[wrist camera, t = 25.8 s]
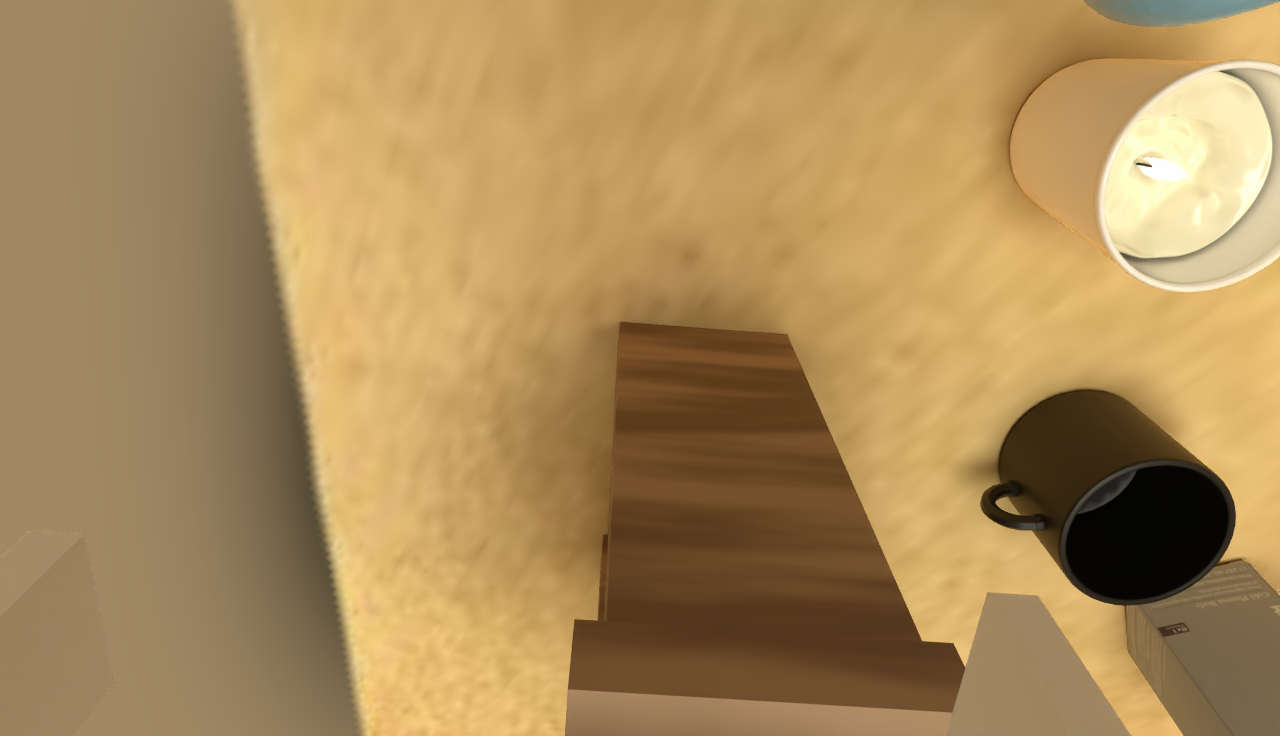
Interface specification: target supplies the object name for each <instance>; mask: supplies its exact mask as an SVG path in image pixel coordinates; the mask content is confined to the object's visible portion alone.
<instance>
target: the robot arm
mask: <svg viewBox="0 0 1280 736" xmlns="http://www.w3.org/2000/svg"><path fill="white" fill-rule="evenodd" d="M1083 1H1084V2H1085V3H1086V4H1087V5H1088V6H1090V7H1091V8H1092V9H1093V10H1095V11H1096V12H1098V13H1099V14H1101V15H1103V16H1105V17H1107V18H1109V19H1111V20H1114V21H1118V22H1121V23H1125V24H1130V25H1136V26H1146V27H1166V26H1180V25H1188V24H1195V23H1201V22H1207V21H1212V20H1217V19H1221V18H1226V17H1230V16H1234V15H1237V14H1241V13H1244V12H1247V11H1251V10H1255V9H1258V8H1262V7H1265V6H1268V5H1271V4H1274V3H1277V2H1279V1H1280V0H1083ZM113 683H114V682H113V676H112V671H111V666H110V661H109V655H108V650H107V646H106V640H105V635H104V630H103V625H102V619H101V614H100V609H99V604H98V599H97V594H96V589H95V584H94V578H93V573H92V568H91V563H90V558H89V552H88V548H87V542H86V537H85V533H74V532H58V531H43V530H29V531H28V532H27V533H26V534H24V535H23V536H22V537H21V538H20V539H19V540H18V541H17V542H15V543H14V544H13V545H12V546H11V547H10V548H9V549H8V550H7V551H5V552H4V554H2V555H1V556H0V736H74V735H75V734H76V733H77V732H78V730H79V729H80V728H81V726H82V725H83V724H84V722H85V721H86V720H87V718H88V717H89V716H90V714H91V713H92V712H93V710H94V709H95V707H96V706H97V705H98V704H99V702H100V701H101V700H102V698H103V697H104V696H105V694H106V693H107V692H108V690H109V689H110V688H111V686H112V685H113ZM947 735H948V736H1131V735H1130V733H1129V732H1128V730H1127V729H1126V727H1125V726H1124V724H1123V723H1122V721H1121V720H1120V718H1119V717H1118V715H1117V714H1116V712H1115V711H1114V709H1113V708H1112V706H1111V705H1110V703H1109V702H1108V700H1107V699H1106V697H1105V696H1104V694H1103V693H1102V691H1101V690H1100V688H1099V687H1098V685H1097V684H1096V682H1095V681H1094V679H1093V678H1092V676H1091V675H1090V673H1089V672H1088V670H1087V669H1086V667H1085V666H1084V664H1083V663H1082V661H1081V660H1080V658H1079V657H1078V655H1077V654H1076V652H1075V651H1074V649H1073V648H1072V646H1071V645H1070V643H1069V642H1068V640H1067V639H1066V637H1065V636H1064V634H1063V633H1062V631H1061V630H1060V628H1059V627H1058V625H1057V624H1056V622H1055V621H1054V619H1053V618H1052V616H1051V615H1050V613H1049V612H1048V610H1047V609H1046V607H1045V606H1044V604H1043V603H1042V601H1041V600H1040V598H1039V597H1038V596H1034V595H1019V594H1003V593H988V592H987V595H986V599H985V602H984V606H983V609H982V613H981V616H980V620H979V623H978V627H977V630H976V633H975V637H974V640H973V644H972V647H971V651H970V654H969V658H968V661H967V664H966V668H965V671H964V675H963V678H962V682H961V685H960V689H959V692H958V696H957V699H956V702H955V706H954V709H953V713H952V716H951V720H950V723H949V727H948V730H947Z"/></svg>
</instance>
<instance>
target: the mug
mask: <svg viewBox="0 0 1280 736" xmlns="http://www.w3.org/2000/svg"><path fill="white" fill-rule="evenodd" d="M1000 478H1001V483H1002V484H998V485H994V486H992V487H990V488H989V489H987V490H986V491H985V492H984V493H983V495H982V498H981V503H980V505H981V509H982V511H983V513H984V514H985V515H986V516H987V517H988V518H990V519H991V520H993V521H994V522H996V523H998V524H1000V525H1002V526H1004V527H1007V528H1011V529H1016V530H1032V531H1033V532H1034V533H1035V535H1036V536H1037V538H1038V539H1039V540H1040V542H1041V543H1042V544H1043V546H1044V547H1045V548H1046V550H1047V551H1048V552H1049V554H1050V555H1051V557H1052V558H1053V559H1054V561H1055V562H1056V563H1057V565H1058V566H1059V567H1060V569H1061V570H1062V572H1063V573H1064V574H1065V576H1066V577H1067V578H1068V580H1069V581H1070V582H1071V583H1072V584H1073V585H1074V586H1075V587H1076V588H1077V589H1078V590H1080V591H1081V592H1082V593H1084V594H1086V595H1088V596H1089V597H1091V598H1093V599H1096V600H1099V601H1101V602H1105V603H1109V604H1114V605H1129V606H1130V605H1143V604H1148V603H1153V602H1157V601H1161V600H1164V599H1167V598H1169V597H1172V596H1174V595H1176V594H1179V593H1181V592H1182V591H1184V590H1186V589H1188V588H1190V587H1191V586H1193V585H1194V584H1195V583H1197V582H1198V581H1200V580H1201V579H1202V578H1203V577H1205V576H1206V575H1207V574H1208V573H1209V572H1210V571H1211V570H1212V569H1213V568H1214V567H1215V565H1216V564H1217V563H1218V562H1219V561H1220V559H1221V558H1222V556H1223V555H1224V553H1225V551H1226V550H1227V548H1228V546H1229V544H1230V541H1231V539H1232V536H1233V532H1234V528H1235V519H1236V512H1235V505H1234V501H1233V498H1232V496H1231V493H1230V491H1229V489H1228V488H1227V486H1226V485H1225V483H1224V482H1223V481H1222V480H1221V479H1220V478H1219V477H1218V476H1217V475H1216V474H1215V473H1214V472H1213V471H1212V470H1210V469H1209V468H1208V467H1207V466H1206V465H1204V464H1203V463H1202V462H1201V461H1200V460H1198V459H1197V458H1196V457H1195V456H1194V455H1192V454H1191V453H1190V452H1189V451H1188V450H1186V449H1185V448H1184V447H1183V446H1182V445H1180V444H1179V443H1178V442H1177V441H1176V440H1174V439H1173V438H1172V437H1171V436H1170V435H1168V434H1167V433H1166V432H1165V431H1164V430H1162V429H1161V428H1160V427H1159V426H1158V425H1156V424H1155V423H1154V422H1153V421H1152V420H1150V419H1149V418H1148V417H1147V416H1146V415H1144V414H1143V413H1142V412H1141V411H1140V410H1138V409H1137V408H1136V407H1135V406H1134V405H1132V404H1131V403H1129V402H1128V401H1126V400H1125V399H1123V398H1121V397H1118V396H1116V395H1113V394H1109V393H1105V392H1097V391H1077V392H1071V393H1066V394H1063V395H1060V396H1057V397H1054V398H1052V399H1049V400H1047V401H1045V402H1043V403H1042V404H1040V405H1038V406H1037V407H1035V408H1034V409H1032V410H1031V411H1030V412H1029V413H1027V414H1026V415H1025V416H1024V417H1023V418H1022V419H1021V420H1020V421H1019V422H1018V423H1017V424H1016V426H1015V427H1014V428H1013V430H1012V431H1011V433H1010V434H1009V436H1008V438H1007V440H1006V442H1005V444H1004V447H1003V450H1002V454H1001V459H1000ZM1003 497H1008V498H1009V499H1010V501H1011V502H1012V504H1013V505H1014V506H1015V508H1016V509H1017V510H1018V512H1019V513H1020V514H1021V515H1014V514H1011V513H1008V512H1005V511H1003V510H1002V509H1000V508H999V507H998V506H997V505H996V503H995V502H996V501H997V500H998V499H1000V498H1003Z"/></svg>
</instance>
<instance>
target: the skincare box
mask: <svg viewBox="0 0 1280 736" xmlns="http://www.w3.org/2000/svg"><path fill="white" fill-rule="evenodd" d="M1126 621H1127V642H1128V652H1129V654H1130V655H1131V657H1132V658H1133V660H1134V661H1135V663H1136V664H1137V666H1138V668H1139V669H1140V671H1141V672H1142V674H1143V675H1144V677H1145V678H1146V680H1147V681H1148V683H1149V684H1150V686H1151V687H1152V689H1153V690H1154V692H1155V693H1156V695H1157V696H1158V698H1159V699H1160V701H1161V702H1162V704H1163V705H1164V707H1165V708H1166V710H1167V711H1168V713H1169V714H1170V716H1171V717H1172V719H1173V720H1174V722H1175V723H1176V725H1177V726H1178V728H1179V729H1180V731H1181V732H1182V734H1183V735H1184V736H1280V596H1279V595H1278V594H1277V593H1276V591H1275V590H1274V589H1273V588H1272V587H1271V586H1270V585H1269V584H1268V583H1267V582H1266V581H1265V580H1264V579H1263V578H1262V577H1261V576H1260V574H1259V573H1258V572H1257V571H1256V570H1255V569H1254V568H1253V567H1252V566H1251V565H1250V564H1249V563H1246V562H1244V561H1243V560H1240V561H1235V562H1230V563H1228V564H1225V565H1220V566H1216V567H1214V568H1213V569H1212V570H1211V571H1210V572H1209V573H1208V574H1207V575H1206V576H1205V577H1203V578H1202V579H1201V580H1200V581H1198V582H1197V583H1195V584H1194V585H1193V586H1191V587H1190V588H1188V589H1186V590H1184V591H1182V592H1181V593H1179V594H1176V595H1174V596H1172V597H1169V598H1167V599H1164V600H1161V601H1157V602H1153V603H1148V604H1143V605H1130V606H1129V605H1126Z"/></svg>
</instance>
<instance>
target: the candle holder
mask: <svg viewBox="0 0 1280 736" xmlns="http://www.w3.org/2000/svg"><path fill="white" fill-rule="evenodd" d="M1010 161H1011V167H1012V171H1013V174H1014V176H1015V179H1016V181H1017V183H1018V185H1019V186H1020V188H1021V189H1022V191H1023V192H1024V193H1025V194H1026V195H1027V197H1028V198H1029V199H1031V200H1032V201H1033V202H1034V203H1035V204H1036V205H1038V206H1039V207H1040V208H1041V209H1043V210H1044V211H1045V212H1047V213H1048V214H1049V215H1051V216H1052V217H1053V218H1055V219H1056V220H1058V221H1059V222H1060V223H1062V224H1063V225H1065V226H1066V227H1067V228H1069V229H1070V230H1071V231H1073V232H1074V233H1076V234H1077V235H1078V236H1080V237H1081V238H1083V239H1084V240H1085V241H1087V242H1088V243H1090V244H1091V245H1092V246H1094V247H1095V248H1097V249H1098V250H1099V251H1101V252H1102V253H1103V254H1105V255H1106V256H1108V257H1109V258H1110V259H1112V260H1113V261H1115V262H1116V263H1117V264H1118V265H1119V266H1120V267H1121V268H1122V269H1123V270H1124V271H1126V272H1127V273H1128V274H1129V275H1131V276H1132V277H1134V278H1136V279H1137V280H1139V281H1141V282H1143V283H1145V284H1147V285H1150V286H1153V287H1156V288H1159V289H1163V290H1168V291H1176V292H1199V291H1207V290H1212V289H1217V288H1221V287H1224V286H1227V285H1230V284H1233V283H1236V282H1238V281H1241V280H1243V279H1245V278H1247V277H1249V276H1251V275H1253V274H1255V273H1257V272H1258V271H1260V270H1262V269H1263V268H1265V267H1266V266H1268V265H1269V264H1271V263H1272V262H1273V261H1275V260H1276V259H1277V258H1279V257H1280V65H1277V64H1274V63H1270V62H1265V61H1259V60H1245V59H1243V60H1228V61H1208V60H1173V59H1135V58H1102V59H1092V60H1087V61H1083V62H1079V63H1076V64H1073V65H1071V66H1068V67H1066V68H1064V69H1062V70H1060V71H1058V72H1057V73H1055V74H1054V75H1052V76H1051V77H1049V78H1048V79H1047V80H1045V81H1044V82H1043V83H1042V84H1041V85H1040V86H1039V87H1038V88H1037V89H1036V90H1035V91H1034V92H1033V93H1032V94H1031V96H1030V97H1029V98H1028V100H1027V101H1026V102H1025V104H1024V105H1023V107H1022V109H1021V111H1020V113H1019V115H1018V117H1017V119H1016V122H1015V124H1014V127H1013V131H1012V135H1011V141H1010Z"/></svg>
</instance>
